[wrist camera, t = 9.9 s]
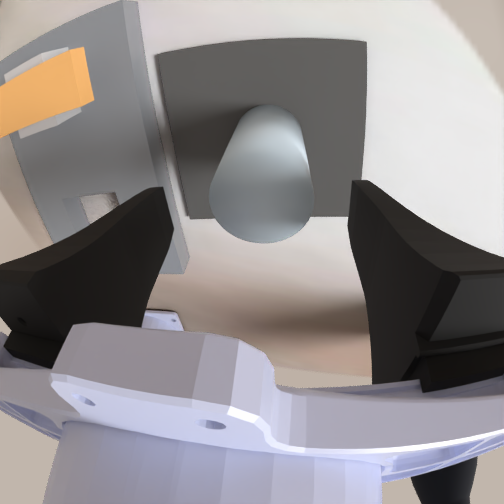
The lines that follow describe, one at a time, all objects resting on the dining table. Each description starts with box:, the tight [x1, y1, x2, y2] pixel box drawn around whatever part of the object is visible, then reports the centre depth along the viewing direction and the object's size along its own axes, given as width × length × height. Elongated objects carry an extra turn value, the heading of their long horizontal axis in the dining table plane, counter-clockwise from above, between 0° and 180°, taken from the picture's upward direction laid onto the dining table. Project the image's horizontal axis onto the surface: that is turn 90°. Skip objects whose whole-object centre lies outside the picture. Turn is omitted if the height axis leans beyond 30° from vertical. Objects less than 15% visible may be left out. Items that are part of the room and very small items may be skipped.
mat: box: [158, 38, 367, 219], centre depth 18 cm, size 12×12×1 cm
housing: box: [0, 0, 190, 274], centre depth 18 cm, size 20×12×5 cm, turn 5°
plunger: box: [0, 47, 94, 138], centre depth 12 cm, size 3×10×4 cm, turn 95°
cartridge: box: [209, 105, 314, 243], centre depth 15 cm, size 4×4×8 cm
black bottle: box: [411, 456, 478, 504], centre depth 16 cm, size 6×6×30 cm
